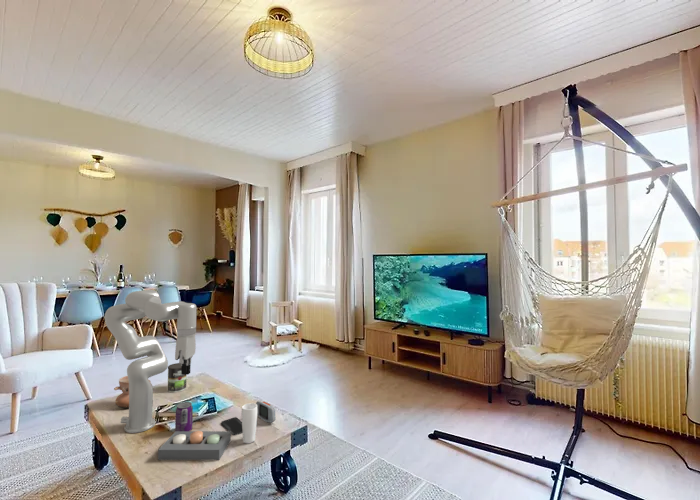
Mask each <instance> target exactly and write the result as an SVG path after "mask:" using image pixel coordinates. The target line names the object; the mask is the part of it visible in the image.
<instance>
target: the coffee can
mask: <svg viewBox="0 0 700 500" xmlns="http://www.w3.org/2000/svg"><path fill="white" fill-rule="evenodd" d="M181 367H182V366H181V364H179V362H177V363H176V362H175V363H172V364H168V367H167V392H169V393H180V392H183V391H185V390H186V389H187V375H182V374H181Z"/></svg>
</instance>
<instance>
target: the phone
mask: <svg viewBox="0 0 700 500" xmlns="http://www.w3.org/2000/svg"><path fill="white" fill-rule="evenodd" d="M220 424H221V425H222V427H223V428H225V430H226V431H231V435H232V436H237V435H240V434H243V432H242V420H240V419H239V418H238V417H237V416H235V417H232V418H231V417H230V418H228V419H225V420H222V421H221V422H220Z"/></svg>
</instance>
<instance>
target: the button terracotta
mask: <svg viewBox="0 0 700 500" xmlns="http://www.w3.org/2000/svg"><path fill="white" fill-rule="evenodd" d="M202 441H203V432H202V431H201V430H195V432H193V433H191V434H190V444H201V443H202Z"/></svg>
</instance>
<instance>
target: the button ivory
mask: <svg viewBox="0 0 700 500" xmlns="http://www.w3.org/2000/svg"><path fill="white" fill-rule="evenodd" d="M185 441H186V435H185V434H179V435H176V436H175V437H173V444H184V442H185Z"/></svg>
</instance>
